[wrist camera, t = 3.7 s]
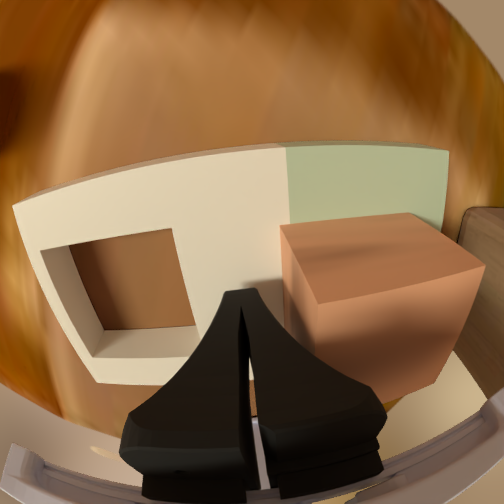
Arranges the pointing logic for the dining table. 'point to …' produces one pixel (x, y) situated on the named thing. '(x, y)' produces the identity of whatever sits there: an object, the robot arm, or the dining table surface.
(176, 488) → the robot arm
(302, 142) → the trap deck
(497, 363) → the wooden block
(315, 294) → the block
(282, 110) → the dining table surface
